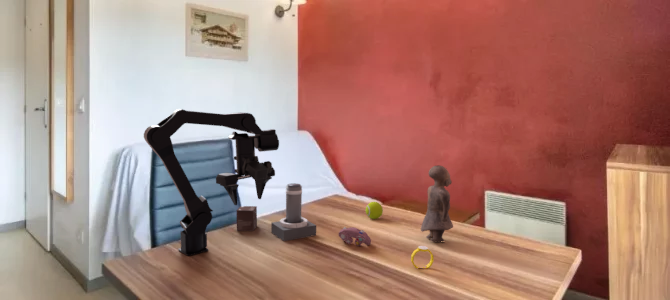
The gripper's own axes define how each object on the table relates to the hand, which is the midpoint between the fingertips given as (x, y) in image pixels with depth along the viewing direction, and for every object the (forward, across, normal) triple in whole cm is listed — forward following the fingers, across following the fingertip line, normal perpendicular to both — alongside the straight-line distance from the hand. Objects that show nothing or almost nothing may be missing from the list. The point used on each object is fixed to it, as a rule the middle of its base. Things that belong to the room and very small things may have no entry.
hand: (247, 201), depth 127 cm
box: (+13, +8, +12) cm, 19 cm away
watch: (+15, +20, -51) cm, 56 cm away
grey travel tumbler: (+10, +15, -4) cm, 19 cm away
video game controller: (+14, +21, -26) cm, 36 cm away
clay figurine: (+16, +43, -43) cm, 63 cm away
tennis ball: (+16, +49, -13) cm, 53 cm away
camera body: (+14, +15, -4) cm, 21 cm away
